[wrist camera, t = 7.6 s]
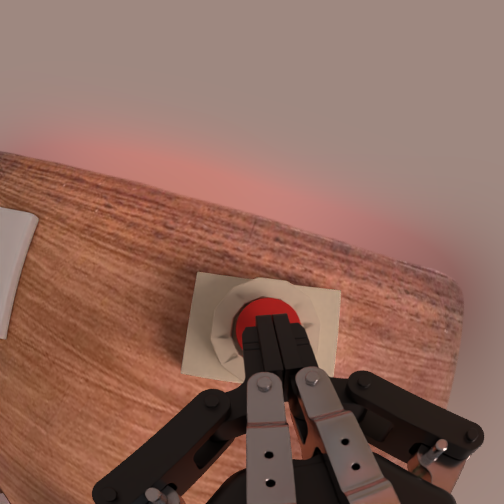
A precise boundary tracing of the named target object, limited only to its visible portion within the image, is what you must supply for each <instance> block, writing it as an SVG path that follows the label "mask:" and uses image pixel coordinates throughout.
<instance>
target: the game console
mask: <svg viewBox="0 0 504 504" xmlns="http://www.w3.org/2000/svg"><path fill="white" fill-rule="evenodd" d="M0 504H10V503H9V501H8V500H7V498H6V497H5V495H4V494H3V493H0Z"/></svg>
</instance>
